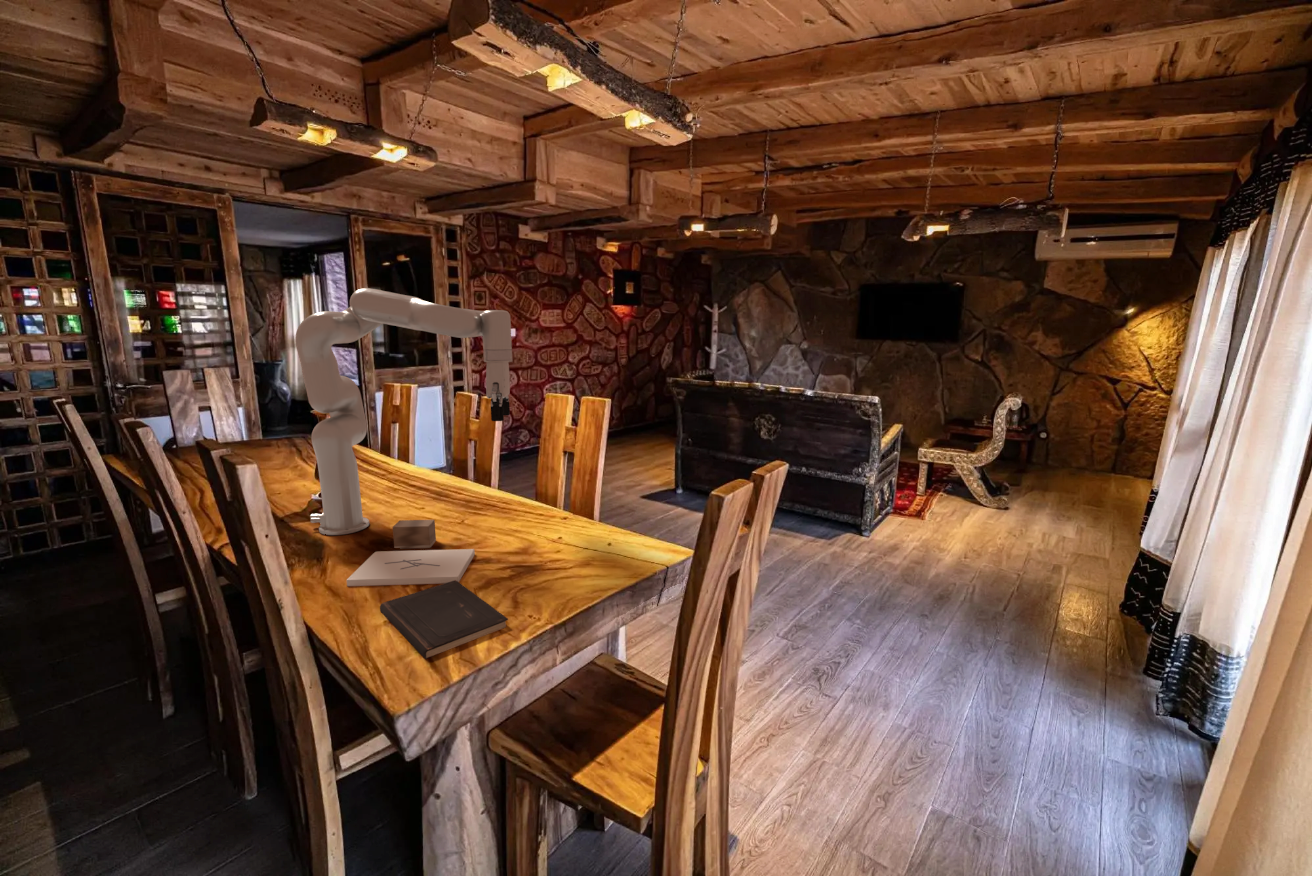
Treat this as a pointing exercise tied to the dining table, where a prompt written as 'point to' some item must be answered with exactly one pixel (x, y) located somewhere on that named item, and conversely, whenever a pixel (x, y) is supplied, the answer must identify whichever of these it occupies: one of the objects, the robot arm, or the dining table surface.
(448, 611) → the hardcover book
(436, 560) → the board
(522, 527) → the dining table surface
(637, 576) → the dining table surface
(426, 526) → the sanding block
